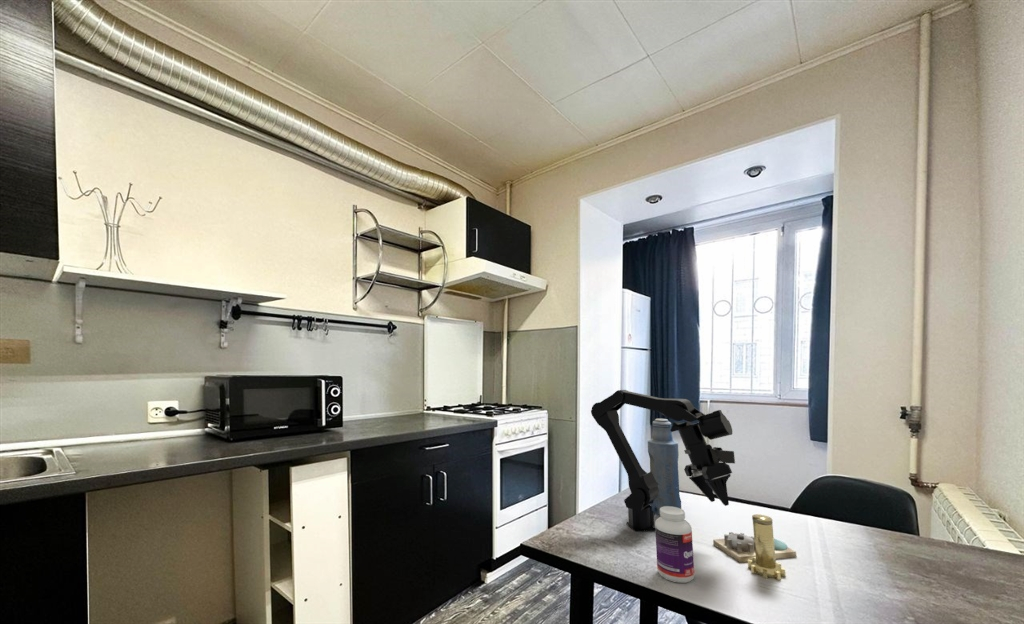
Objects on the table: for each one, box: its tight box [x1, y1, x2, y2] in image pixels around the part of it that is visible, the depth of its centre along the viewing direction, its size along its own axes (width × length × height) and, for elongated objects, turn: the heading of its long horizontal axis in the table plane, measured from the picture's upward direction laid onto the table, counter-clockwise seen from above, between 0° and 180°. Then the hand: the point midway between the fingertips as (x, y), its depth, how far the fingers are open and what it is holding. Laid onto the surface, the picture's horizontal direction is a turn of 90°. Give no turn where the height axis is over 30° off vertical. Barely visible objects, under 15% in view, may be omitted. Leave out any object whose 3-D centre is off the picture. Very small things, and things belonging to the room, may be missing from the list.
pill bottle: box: [654, 506, 695, 584], centre depth 94 cm, size 8×8×14 cm
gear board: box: [712, 531, 797, 563], centre depth 105 cm, size 17×10×4 cm, turn 99°
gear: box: [747, 514, 786, 581], centre depth 95 cm, size 7×7×12 cm
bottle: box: [647, 418, 682, 516], centre depth 134 cm, size 10×10×30 cm
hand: (719, 503), depth 106 cm, fingers open, 9 cm apart
